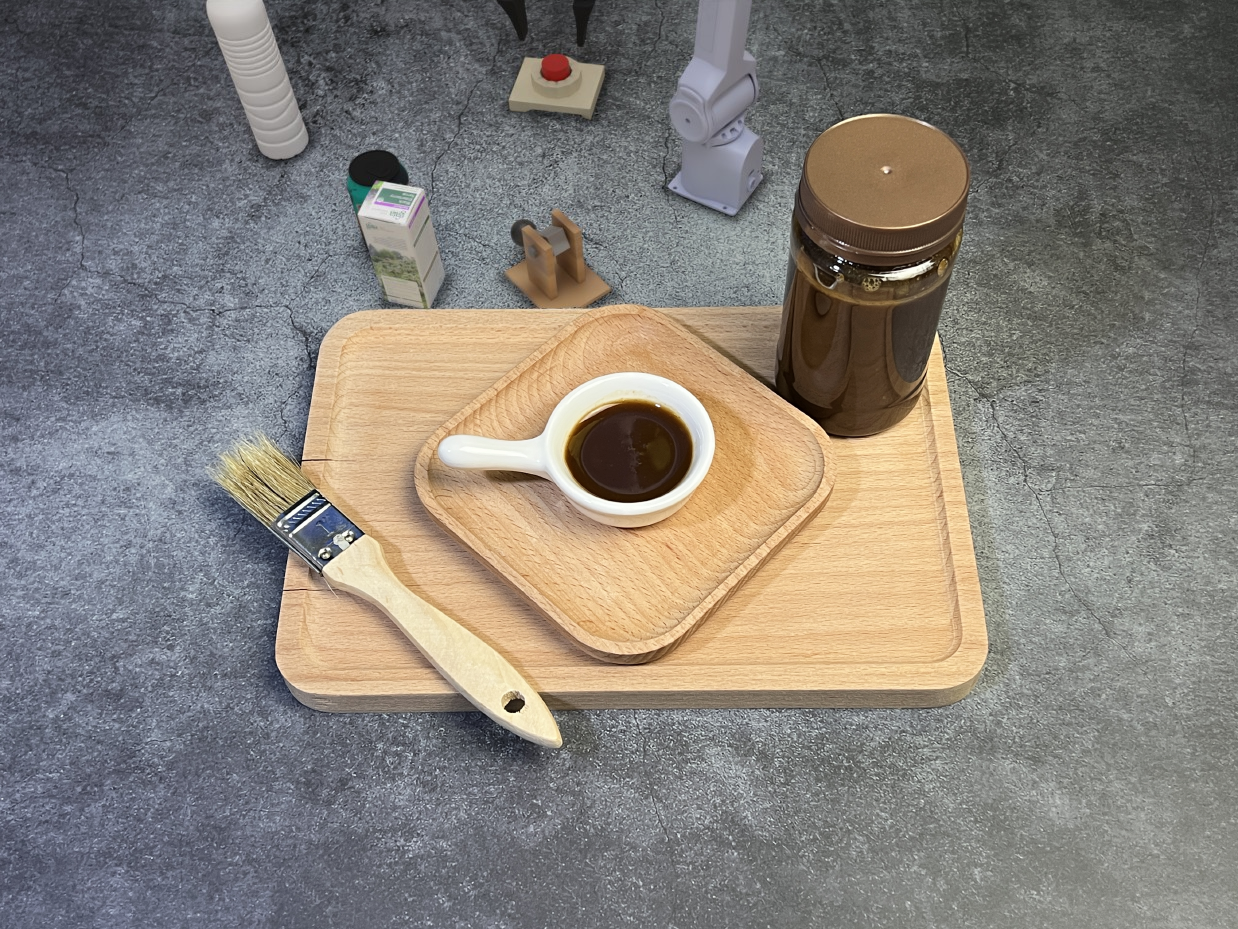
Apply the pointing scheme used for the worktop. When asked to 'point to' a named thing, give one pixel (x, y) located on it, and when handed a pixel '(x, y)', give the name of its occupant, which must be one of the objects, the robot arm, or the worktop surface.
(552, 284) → the bracket
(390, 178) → the teal lidded canister
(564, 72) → the button
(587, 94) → the button box
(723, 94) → the robot arm
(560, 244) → the lever
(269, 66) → the water bottle
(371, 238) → the syrup box
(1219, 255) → the worktop surface
